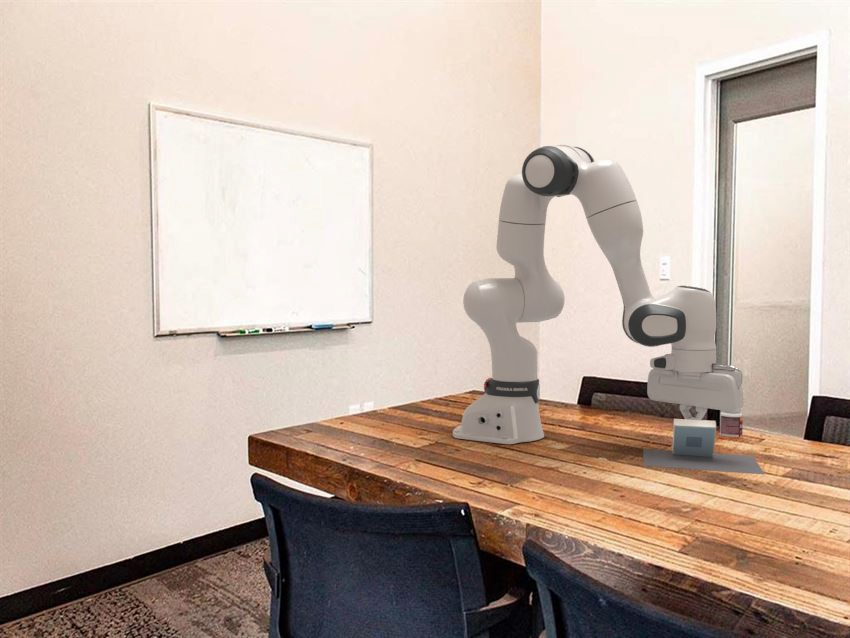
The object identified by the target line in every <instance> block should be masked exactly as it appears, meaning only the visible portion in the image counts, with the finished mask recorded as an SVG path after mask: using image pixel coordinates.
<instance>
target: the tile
mask: <svg viewBox="0 0 850 638" xmlns="http://www.w3.org/2000/svg"><path fill="white" fill-rule="evenodd" d="M716 421H717V420H708V419H707V420H706V419H705V420H704V419H702V420H689V419H685V418H684V419H683V418H673V429H672V448H671V449H672V450H671V451H673V454H674V455H689V456H704V457H713V454H714V453H715V452H714V451H715V443H716V435H717V422H716Z"/></svg>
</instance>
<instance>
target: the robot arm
mask: <svg viewBox="0 0 850 638" xmlns="http://www.w3.org/2000/svg"><path fill="white" fill-rule="evenodd" d="M569 195H572V196H574V197H576V198H577V199H578V201H579V202H580V203H581V206H582V209H583V212H584V215H585V218H586V221H587V224H588V227H589V229H590V231H591V234H592V236H593V238H594V240H595V242H596V243H597V245H598V247H599V248H600V250H601V251H602V253H603V254H604V256H605V258H606V259H607V261H608V263H609V264H610V267H611V268H612V271H613V274H614V277H615V280H616V283H617V286H618V289H619V293H620V296H621V299H622V303H623V312H622V320H621V321H622V322H621V323H622V325H621V326H622V329H623V331H624V334H625V335H626V337H627V338H628V339H629V340H631V341H632V342H634V343H636V344H638V345H640V346H644V347H646V348H647V347H649V348H655V347H660V346H663V345H664V346H665V345H669V344H670V345H671V353H667V354H664V355H661V356H657V357H652V358H650V359H649V365H650V368H652V369H651V370H650V371H649V373H648V375H647V383H646V384H647V386H646V387H647V388H646V389H647V392H646V393H647V396H648V398H649V399H650V400H651V401H655V402H663V403H669V404H670V403H671V404H677V405H679V410H680V413H681V414H682V416H683V418H684V419H689V420H703V418H704V417H705V415H706V414H707V412H708V409H709V410H710V409H711V410H717V411H718V410H719V411H722V412H723V411H730V412H734V411H738V410H740V409H741V410H742V408H743V407H744V392H743V372H742V371H741V370H740V369H739V368H737V367H736V366H735V365H731V364H729V365H726V364H720V363H717V344H716V342H715V341H716V340H715V334H716V331H717V308H716V301H715V296H714V294H713V293H712V292H710V290H708V289H705V288H702V287H697V286H689V285H688V286H687V285H678V286H675V288H673V289H672V290H670V291H669V292H667V293H665V294H663V295H661V296H659V297H657V298H654V296H653V295H652V293H651V290H650V286H649V283H648V281H647V277H646V274H645V270H644V267H643V265H642V264H643V263H642V260H641V259H642V258H641V247H642V240H643V237H644V225H643V218H642V213H641V209H640V205H639V202H638V201H637V198H636V194H635V192H634V190H633V188H632V185H631V183H630V181H629V179H628V177H627V175H626V173H625V172H624V169H623V168H622V166H621V165H620V163H619V162H618V161H616V160H614V159H609V158H603V159H597V160H595V159H594V158H593V156H592V155H591V153H590V152H588V150H586V149H583V148H582V147H578V146H571V145H568V144H567V145H566V144H557V145H545V146H541V147H538V148H536V149H535V150H533V151H531V152H530V153H529V154H528V155H527V156H526V157H525V159H524V161H523V163H522V167H521V173H518V174H515V175H512V176H511V177H510V178H508V180H507V181H506V184H505V186H504V189H503V193H502V198H501V202H500V209H499V215H498V216H499V217H498V226H497V238H496V246H495V247H496V251H497V254H498V255H499V257H500V258H501V259H502V260H503V261H505V262H506V263H508V264H510V265H512V266H513V268H514V277H510V278H508V277H507V278H505V277H501V278H497V277H495V278H493V277H490V278H486V279H481V280H476V281H472V282H471V283H470V284H469V285H468V286H467V288H466V289H465V290H464V291H465V292H464V294H463V301H462V303H463V308H464V311H465V314H466V315H467V316H468V317H469V318H470V320H471V321H472V322H474V323H475V324H476V325H477V326H478V327H479V328H480V329H481V330H482V331H483V333H484V335H485V337H486V339H487V341H488V344H489V347H490V348H489V349H490V355H491V375H492V376H491V377H488V378H487V379H486V380H485V382H484V383H483V390H484V392H485V393H484V394H482V395H481V396H479V398H477V399H476V400H475V401H473V402H472V403H471V404H470V405H468V406H467V407H466V408H465V409H464V412H463V414H462V417H461V418H462V419H461V425H458V426H457V427H455V428H454V429H453V431H452V437H453V438H455V439H460V440H461V439H462V440H467V441H475V442H485V443H492V444H493V443H495V444H501V445H502V444H503V445H514V444H518V443H527V442H533V441H534V442H535V441H538V440H541V439H543V438H545V432H544V430H543V426H542V421H541V417H540V416H541V415H540V407H539V402H540V399H541V397H540V396H541V388H540V387H541V385H540V379H539V378H538V350H537V348H536V346H535V345H534V343H533V342H532V341H530V340H528V339H527V338H525V337H523V336H521V335H520V334H519V331H518V327H517V323H519V324H521V323H541V322H545V321H549V320H552V319H556V318H558V316H560V314H561V313H562V311H563V308H564V306H565V294H564V290H563V288H562V286H561V285H560V284H559V283H558V282H557V281H556V280H555V279H554V278H553V277H552V275H551V274H550V272H549V270H548V267H547V266H546V262H545V254H544V250H545V249H544V248H545V247H544V246H545V233H546V224H547V212H548V207H549V204H550V202H551V200H552V199H554V198H555V197H556V198H560V197H565V196H569ZM692 407H695V412H696V413H697V414H696V415H695V417H694V416H692V413H691V412H690V409H691V408H692Z"/></svg>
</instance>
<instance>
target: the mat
mask: <svg viewBox="0 0 850 638" xmlns="http://www.w3.org/2000/svg"><path fill="white" fill-rule="evenodd" d="M642 456H643V457H642V459H643V461H642V462H643V467H652V468H653V467H654V468H655V467H656V468H670V469H684V470H697V471H698V470H699V471H710V472H711V471H712V472H726V473H740V474H752V475H754V474H755V475H764V476H765V472H764V471H763V469H762V468H761V466H760V464H759V462H758V461H757V460H756V458H755V457H754V456H753V455H746V454H745V455H744V454H731V453H729V454H728V453H718V452H717V453H715V452H714V454H713V457H704V456H689V455H674V454H673V451H672V450H667V449H666V450H665V449H654V448H653V449H652V448H642Z"/></svg>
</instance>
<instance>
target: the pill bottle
mask: <svg viewBox="0 0 850 638" xmlns="http://www.w3.org/2000/svg"><path fill="white" fill-rule="evenodd" d="M719 416H720V417H719V418H720V420H719V421H720V424H719V425H720V431H719V432H720V434H719V435H720V436H719V437H720V438H722V439H725V440H734V441H737V440H738V441H739V440H742V439H743V426H744V425H743V423H744V422H743V420H744V417H743V414H742V408H741V409H740V410H738V411H734V412H730V411H723V410H722V411H721V412H720V415H719Z"/></svg>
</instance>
